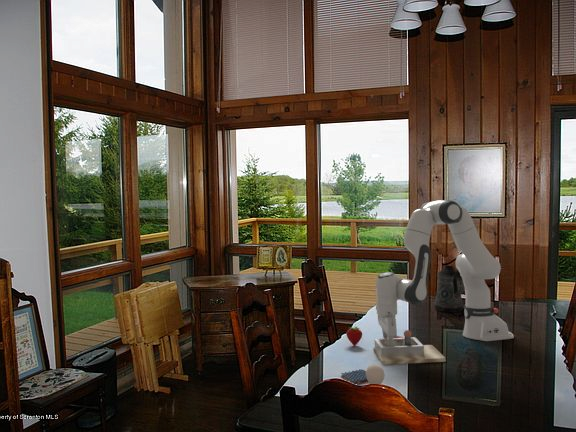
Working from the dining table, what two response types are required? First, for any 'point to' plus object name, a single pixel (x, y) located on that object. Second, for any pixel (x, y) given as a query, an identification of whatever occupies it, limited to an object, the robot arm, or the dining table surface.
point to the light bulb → (375, 374)
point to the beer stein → (449, 290)
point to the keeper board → (429, 356)
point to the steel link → (399, 348)
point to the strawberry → (354, 335)
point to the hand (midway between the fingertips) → (387, 341)
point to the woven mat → (355, 376)
